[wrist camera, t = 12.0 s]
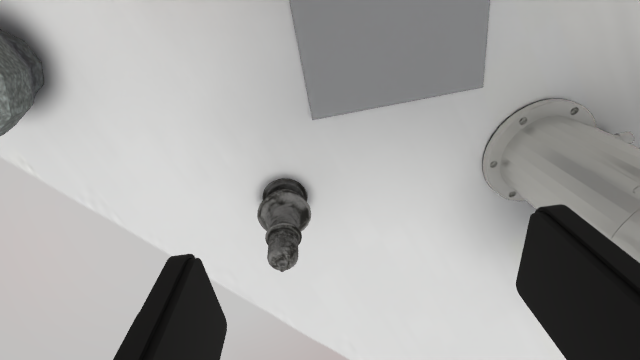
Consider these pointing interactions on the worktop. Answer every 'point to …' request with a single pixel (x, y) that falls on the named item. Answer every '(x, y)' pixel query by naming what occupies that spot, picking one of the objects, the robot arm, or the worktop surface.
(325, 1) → the rubber mat
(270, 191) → the dark stone chess piece
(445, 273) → the worktop surface
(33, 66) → the mortar and pestle
